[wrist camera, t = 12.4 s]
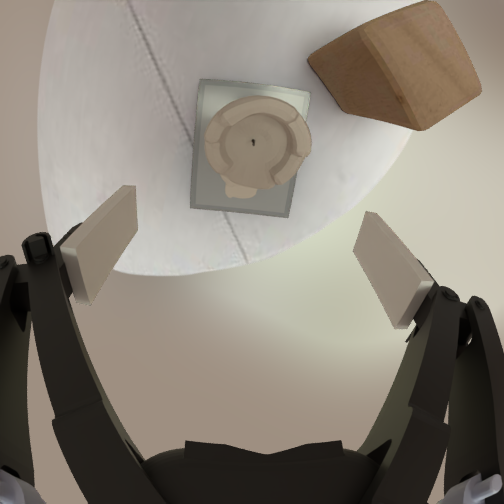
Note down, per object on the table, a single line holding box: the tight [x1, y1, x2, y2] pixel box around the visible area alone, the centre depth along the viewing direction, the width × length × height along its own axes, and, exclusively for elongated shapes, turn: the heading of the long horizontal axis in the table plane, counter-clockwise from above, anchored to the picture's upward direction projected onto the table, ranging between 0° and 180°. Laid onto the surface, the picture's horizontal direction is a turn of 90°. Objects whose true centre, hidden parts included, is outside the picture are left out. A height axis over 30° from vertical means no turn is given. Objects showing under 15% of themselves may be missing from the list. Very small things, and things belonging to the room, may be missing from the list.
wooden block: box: [308, 0, 482, 131], centre depth 22 cm, size 10×10×20 cm
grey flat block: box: [190, 79, 311, 218], centre depth 35 cm, size 18×14×3 cm
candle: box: [204, 95, 311, 198], centre depth 25 cm, size 7×14×20 cm, turn 171°
